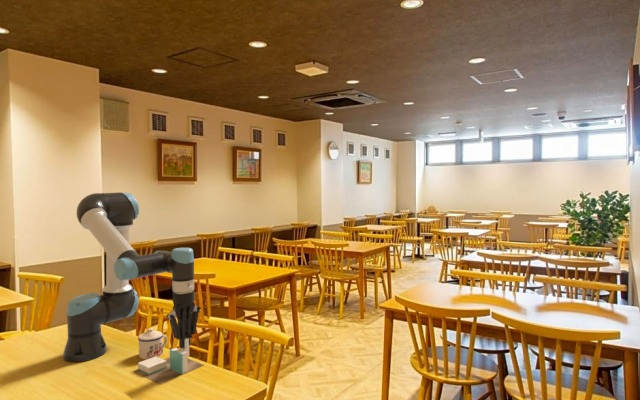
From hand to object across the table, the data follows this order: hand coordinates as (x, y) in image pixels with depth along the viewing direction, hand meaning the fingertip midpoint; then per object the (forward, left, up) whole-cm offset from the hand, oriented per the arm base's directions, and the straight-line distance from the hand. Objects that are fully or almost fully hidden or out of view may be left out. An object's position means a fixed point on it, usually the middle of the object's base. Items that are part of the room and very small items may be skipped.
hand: (185, 355), depth 153 cm
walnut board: (-4, -4, -6) cm, 8 cm away
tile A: (-9, -4, -3) cm, 10 cm away
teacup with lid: (-21, +1, -6) cm, 22 cm away
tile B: (0, -3, -4) cm, 5 cm away
